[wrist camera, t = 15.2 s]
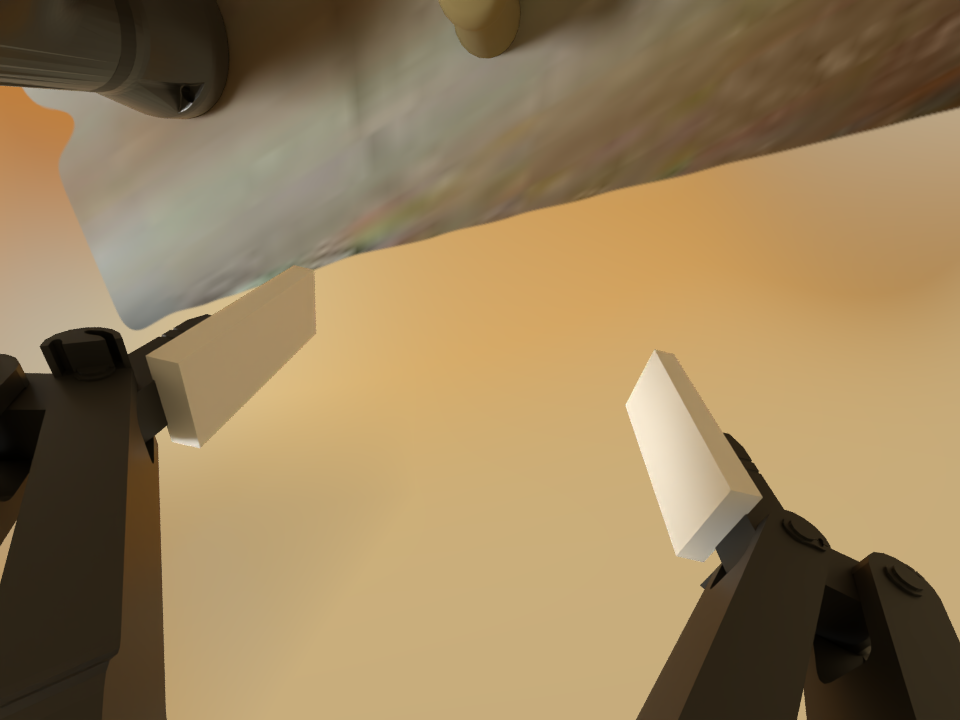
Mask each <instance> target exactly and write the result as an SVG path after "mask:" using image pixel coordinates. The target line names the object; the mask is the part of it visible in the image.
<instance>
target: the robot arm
mask: <svg viewBox="0 0 960 720" xmlns="http://www.w3.org/2000/svg"><path fill="white" fill-rule="evenodd" d="M228 63H229V53H228V43H227V36H226V31H225V27H224V23H223V20H222V16H221V14H220V11H219V8H218V5H217V3H216V1H215V0H0V86H14V87H28V88H43V89H57V90H71V91H86V92H96V93H98V94H100V95H102V96H105V97H107V98H109V99H112V100H114V101H116V102H118V103H121V104H123V105H125V106H128V107H130V108H132V109H134V110H137V111H139V112H141V113H144V114H147V115H151V116H155V117H160V118H173V119H188V118H193V117H197V116H199V115H202V114H203V113H205V112H207V111H208V110H209V109H210V108H211V107H213V105H214V104H215V103H216V102H217V100H218V99H219V97H220V96H221V94H222V91H223V89H224V86H225V83H226V79H227V74H228ZM315 319H316V317H315V281H314V270H312V269H308V268H303V267H299V266H295V265H294V266H292V267H291V268H289V269H287V270H286V271H284V272H282V273H281V274H279V275H277V276H276V277H274V278H272V279H271V280H269V281H268V282H266V283H264V284H263V285H261V286H259V287H258V288H256V289H254V290H253V291H251V292H250V293H248V294H246V295H245V296H243V297H241V298H240V299H238V300H236V301H235V302H233V303H232V304H230V305H228V306H227V307H225V308H223V309H222V310H220V311H218V312H217V313H215V314H213V315H208V314H206V315H203V316H199V317H196V318H192V319H189V320H187V321H185V322H183V323H182V324H180V325H178V326H176V327H175V328H174V329H173V330H169V331H168V332H166V333H164V334H163V335H162V337H157V338H156V339H154V340H152V341H150V342H149V343H147V344H146V345H144V346H142V347H140V348H138V349H137V350H135V351H133V352H132V353H130V354H127V351H126V348H125V345H124V342H123V339H122V337H121V335H120V333H119V332H117V331H115V330H113V329H108V328H101V327H97V328H96V327H91V328H89V327H88V328H79V329H73V330H68V331H65V332H61V333H58V334H55V335H53V336H52V337H50V338H48V339H46V340H45V341H44V342H43V343H42V344H41V346H40V348H41V350H42V352H43V355H44V357H45V359H46V361H47V363H48V365H49V367H50V369H51V371H52V374H41V373H24V371H23V369H22V367H21V365H20V363H19V362H18V361H17V359H16V358H15V357H12V356H9V355H6V354H0V545H1V544H2V542H3V540H4V539H5V537H6V536H7V534H8V533H9V531H10V530H11V528H12V526H13V525H14V523H15V521H16V520H17V522H16V526H15V529H14V533H13V537H12V541H11V544H10V549H9V552H8V556H7V560H6V564H5V568H4V572H3V575H2V579H1V583H0V720H167V719H166V705H165V670H164V635H163V601H162V567H161V532H160V501H159V500H160V498H159V465H158V443H157V440H156V438H155V435H156V434H157V433H158V432H160V431H161V430H162V429H163V428H164V427H165V426H167V428H168V431H169V434H170V437H171V440H172V442H175V443H179V444H184V445H188V446H193V447H197V448H201V447H202V446H203V445H204V444H205V443H206V442H207V441H208V440H209V439H210V438H211V437H212V436H213V435H214V434H215V433H216V432H217V431H218V430H219V429H220V428H221V427H222V426H223V425H224V424H225V423H226V422H227V421H228V420H229V419H230V418H231V417H232V416H233V415H234V414H235V413H236V412H237V411H238V410H239V409H240V408H241V407H242V406H243V405H244V404H245V403H246V402H247V401H248V400H249V399H250V398H251V397H252V396H253V395H254V394H255V393H256V392H257V391H258V390H259V389H260V388H261V387H263V385H265V383H267V381H269V379H271V378H272V376H274V375H275V374H276V373H277V371H279V370H280V369H281V368H282V367H283V366H284V365H285V364H286V363H287V362H288V361H289V360H290V359H291V358H292V357H293V356H294V355H295V354H296V353H297V352H298V351H299V350H300V349H301V348H302V347H303V346H304V345H305V344H306V343H307V342H308V341H309V340H310V339H311V338H312V337H313V336H314V335H315V334H316V320H315ZM626 408H627V411H628V414H629V417H630V420H631V423H632V426H633V429H634V432H635V435H636V438H637V441H638V444H639V447H640V450H641V453H642V456H643V459H644V462H645V464H646V468H647V470H648V473H649V476H650V479H651V482H652V485H653V488H654V491H655V494H656V497H657V500H658V503H659V506H660V509H661V512H662V515H663V518H664V521H665V523H666V527H667V530H668V533H669V536H670V538H671V541H672V544H673V547H674V550H675V553H676V556H678V557H683V558H687V559H692V560H696V561H701V562H704V561H705V560H706V559H707V558H708V557H709V556H710V555H711V553H713V551H714V550H715V549H716V551H717V553H718V555H719V557H720V560H721V562H722V563H721V564H720V565H719V566H718V567H717V568H716V570H715V571H714V572H713V573H712V574H711V575H710V576H709V577H708V578H707V579H706V580H705V581H704V582H703V583H702V584H701V585H700V586H702V587H703V588H704V589H705V590H704V592H703V593H702V595H701V598H700V599H699V601H698V603H697V605H696V607H695V609H694V611H693V612H692V614H691V616H690V618H689V620H688V622H687V624H686V626H685V628H684V630H683V631H682V634H681V635H680V637H679V639H678V641H677V643H676V645H675V647H674V649H673V651H672V653H671V655H670V656H669V658H668V660H667V662H666V664H665V666H664V668H663V669H662V671H661V673H660V675H659V677H658V679H657V681H656V683H655V685H654V687H653V688H652V690H651V692H650V694H649V696H648V698H647V700H646V702H645V704H644V706H643V708H642V709H641V711H640V713H639V715H638V717H637V719H636V720H797V716H798V712H799V707H800V702H801V697H802V693H803V688H804V696H805V706H806V716H807V720H960V642H959V639H958V637H957V635H956V633H955V630H954V628H953V626H952V624H951V621H950V620H949V617H948V615H947V612H946V610H945V608H944V606H943V604H942V601H941V599H940V598H939V596H938V595H937V593H936V592H935V590H934V589H933V588H932V587H931V585H929V583H928V582H927V581H926V580H925V579H924V578H923V577H922V576H921V575H920V574H919V573H918V572H915V571H914V569H913V568H911V567H910V566H908V565H906V564H904V563H903V562H901V561H899V560H897V559H896V558H894V557H891V556H889V555H886V554H884V553H877V552H873V553H871V554H870V555H868V556H867V557H866V558H864V559H863V560H862V561H860V562H858V561H856V560H854V559H852V558H850V557H848V556H846V555H843V554H841V553H839V552H837V551H835V550H833V549H831V547H830V545H829V543H828V542H827V540H826V538H825V537H824V536H823V535H822V534H821V533H820V531H818V529H817V528H816V527H815V526H813V525H812V524H811V523H809V522H808V521H807V520H805V519H804V518H802V517H801V516H799V515H797V514H795V513H793V512H790V511H787V510H784V509H783V507H782V506H781V504H780V502H779V501H778V500H777V498H776V497H775V495H774V493H773V492H772V490H771V489H770V487H769V486H768V484H767V483H766V481H765V480H764V478H763V477H762V475H761V474H759V473H758V472H759V471H758V469H757V468H756V466H755V464H754V463H752V462H751V461H752V460H751V458H750V457H749V455H748V454H747V452H746V451H745V449H744V448H743V447H742V446H741V445H740V444H739V443H738V442H737V441H736V440H735V439H734V438H733V437H732V436H731V435H730V434H727V433H723V432H722V431H721V429H720V428H719V426H718V424H717V423H716V421H715V419H714V418H713V416H712V415H711V413H710V411H709V410H708V408H707V407H706V405H705V403H704V402H703V400H702V399H701V397H700V395H699V394H698V392H697V390H696V389H695V387H694V386H693V384H692V383H691V381H690V380H689V378H688V376H687V375H686V373H685V371H684V370H683V368H682V366H681V365H680V363H679V362H678V360H677V358H676V357H675V355H674V354H671V353H667V352H663V351H658V350H654V351H653V353H652V355H651V357H650V359H649V361H648V363H647V365H646V367H645V369H644V370H643V372H642V374H641V376H640V378H639V380H638V382H637V384H636V386H635V388H634V390H633V392H632V394H631V396H630V397H629V399H628V401H627V403H626Z"/></svg>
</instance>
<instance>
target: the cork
mask: <svg viewBox="0 0 960 720" xmlns="http://www.w3.org/2000/svg"><path fill="white" fill-rule="evenodd" d="M438 1H439V4H440V6H441V8H442V10H443V12H444V14H445V15H446V16H447V17H448V19H449V20H450V21H451V22H452V23H453V24H454V26H455V30H456V34H457V36H458V38H459V40H460V42H461V44H462V45H463V47H464V48H465V49H466V50H467V51H468V52H469V53H471V54H473V55H475V56H477V57H479V58H492V57H495V56H498V55H500V54H501V53H502V52H504V51H505V50H506V49H507V48H508V47H509V46H510V44H511V43H512V41H513V40H514V38H515V36H516V33H517V30H518V28H519V23H520V13H521V11H520V4H519V0H438Z"/></svg>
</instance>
